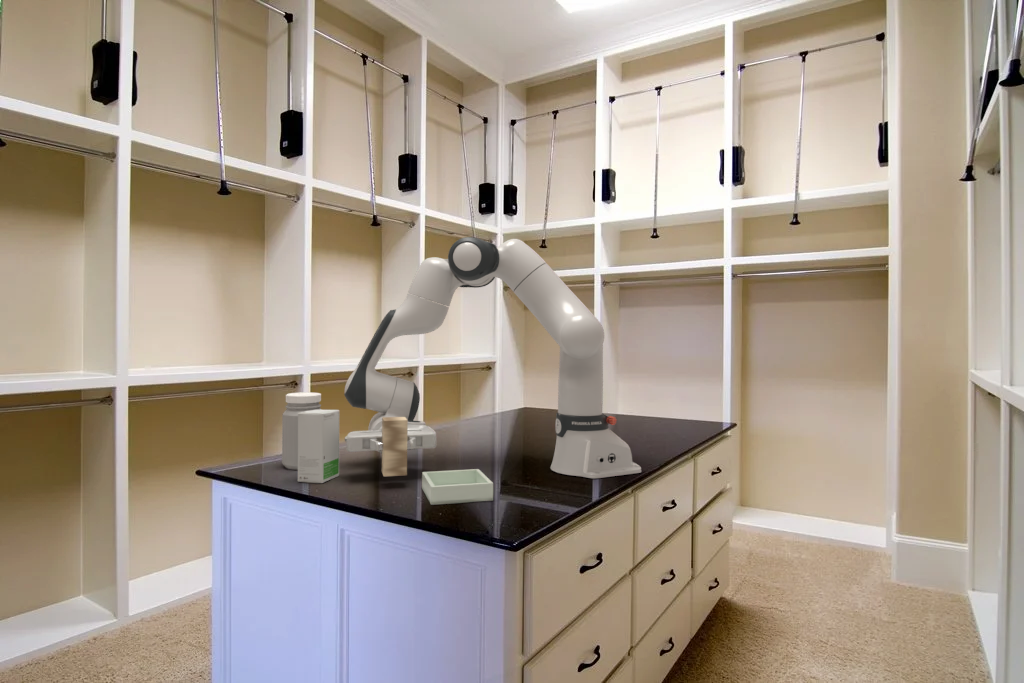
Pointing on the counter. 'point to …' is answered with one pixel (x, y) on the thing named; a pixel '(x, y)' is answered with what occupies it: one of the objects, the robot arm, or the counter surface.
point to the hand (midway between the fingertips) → (394, 446)
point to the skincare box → (318, 445)
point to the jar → (295, 424)
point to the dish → (456, 486)
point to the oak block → (394, 446)
